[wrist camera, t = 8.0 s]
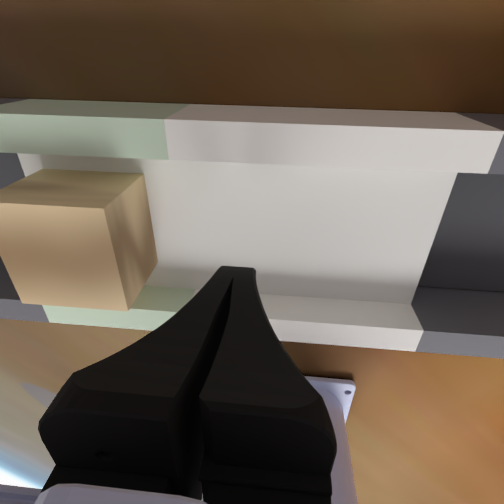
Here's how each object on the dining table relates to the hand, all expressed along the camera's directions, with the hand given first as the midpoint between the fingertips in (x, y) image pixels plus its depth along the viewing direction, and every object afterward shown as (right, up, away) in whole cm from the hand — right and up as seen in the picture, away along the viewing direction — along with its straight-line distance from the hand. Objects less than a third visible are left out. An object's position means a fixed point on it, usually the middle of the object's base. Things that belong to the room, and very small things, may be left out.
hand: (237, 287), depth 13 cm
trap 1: (+13, +3, +5) cm, 14 cm away
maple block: (-7, +3, +4) cm, 9 cm away
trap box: (0, +4, +6) cm, 7 cm away
